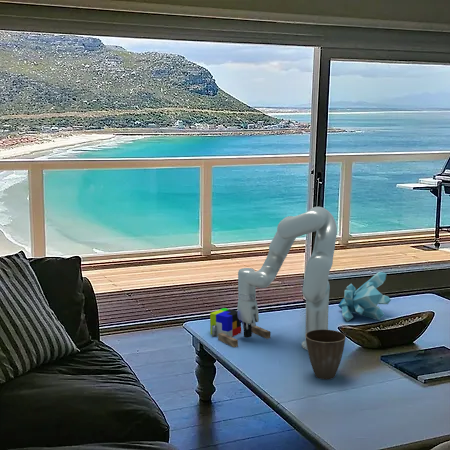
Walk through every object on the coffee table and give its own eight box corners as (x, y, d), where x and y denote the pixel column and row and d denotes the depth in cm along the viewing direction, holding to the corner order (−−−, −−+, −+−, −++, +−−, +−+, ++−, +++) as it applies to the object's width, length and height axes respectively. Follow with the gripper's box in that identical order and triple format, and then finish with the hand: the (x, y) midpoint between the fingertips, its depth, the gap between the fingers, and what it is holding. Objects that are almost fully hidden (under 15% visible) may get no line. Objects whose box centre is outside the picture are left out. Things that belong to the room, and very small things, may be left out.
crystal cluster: (391, 327, 304) (390, 285, 299) (335, 326, 310) (334, 284, 306) (391, 310, 325) (390, 270, 320) (338, 309, 331) (337, 270, 326)
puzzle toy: (227, 338, 290) (227, 317, 288) (210, 334, 296) (210, 313, 294) (241, 332, 298) (241, 311, 296) (223, 328, 304) (223, 307, 302)
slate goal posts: (248, 328, 303) (248, 318, 302) (213, 337, 292) (213, 326, 291) (245, 327, 304) (245, 317, 304) (211, 336, 293) (210, 325, 292)
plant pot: (297, 372, 252) (298, 332, 249) (330, 365, 258) (331, 327, 255) (318, 386, 238) (318, 344, 236) (352, 379, 244) (353, 338, 241)
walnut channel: (270, 338, 290) (270, 331, 289) (234, 347, 279) (234, 340, 278) (254, 331, 300) (254, 324, 299) (218, 339, 288) (218, 333, 288)
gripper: (264, 298, 280) (264, 339, 283) (243, 291, 292) (244, 330, 296) (250, 301, 276) (251, 343, 279) (230, 294, 288) (230, 334, 291)
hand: (247, 336), depth 287 cm, fingers closed
